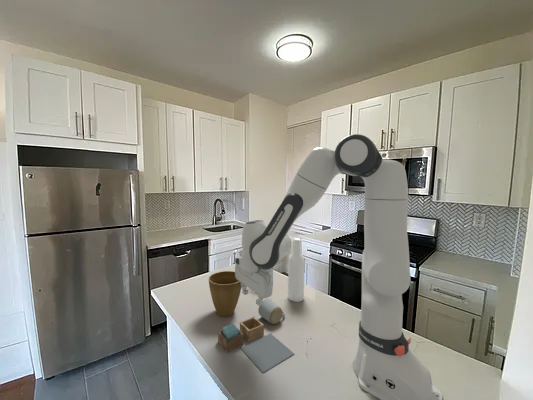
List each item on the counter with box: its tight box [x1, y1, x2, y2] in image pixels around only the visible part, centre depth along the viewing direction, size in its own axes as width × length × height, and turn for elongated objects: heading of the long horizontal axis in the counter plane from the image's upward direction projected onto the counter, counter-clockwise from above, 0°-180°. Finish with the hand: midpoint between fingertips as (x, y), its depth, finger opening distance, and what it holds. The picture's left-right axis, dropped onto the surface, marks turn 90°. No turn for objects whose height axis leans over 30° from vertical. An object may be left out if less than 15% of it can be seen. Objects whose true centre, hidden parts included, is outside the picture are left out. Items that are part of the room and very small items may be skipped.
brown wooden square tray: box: [217, 328, 244, 353], centre depth 82 cm, size 7×7×4 cm
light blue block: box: [222, 323, 239, 340], centre depth 82 cm, size 4×4×6 cm
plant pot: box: [208, 270, 242, 318], centre depth 102 cm, size 15×15×16 cm
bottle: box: [287, 237, 305, 302], centre depth 114 cm, size 8×8×30 cm
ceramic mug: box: [258, 298, 286, 325], centre depth 97 cm, size 11×8×8 cm
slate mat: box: [240, 333, 295, 374], centre depth 78 cm, size 13×13×1 cm
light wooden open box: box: [239, 316, 265, 343], centre depth 88 cm, size 7×7×4 cm
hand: (251, 299), depth 87 cm, fingers open, 8 cm apart
